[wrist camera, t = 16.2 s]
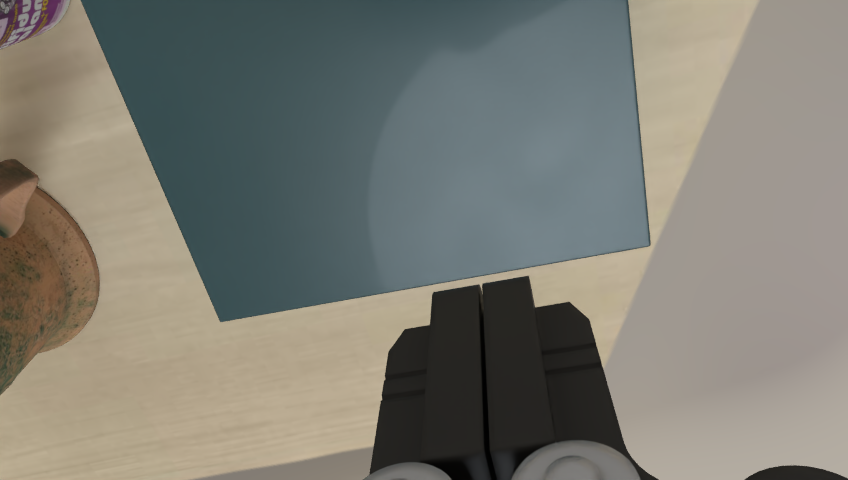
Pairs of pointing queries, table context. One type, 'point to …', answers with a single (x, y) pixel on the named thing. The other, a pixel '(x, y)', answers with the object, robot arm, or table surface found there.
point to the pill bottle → (28, 18)
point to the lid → (381, 138)
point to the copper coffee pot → (39, 272)
